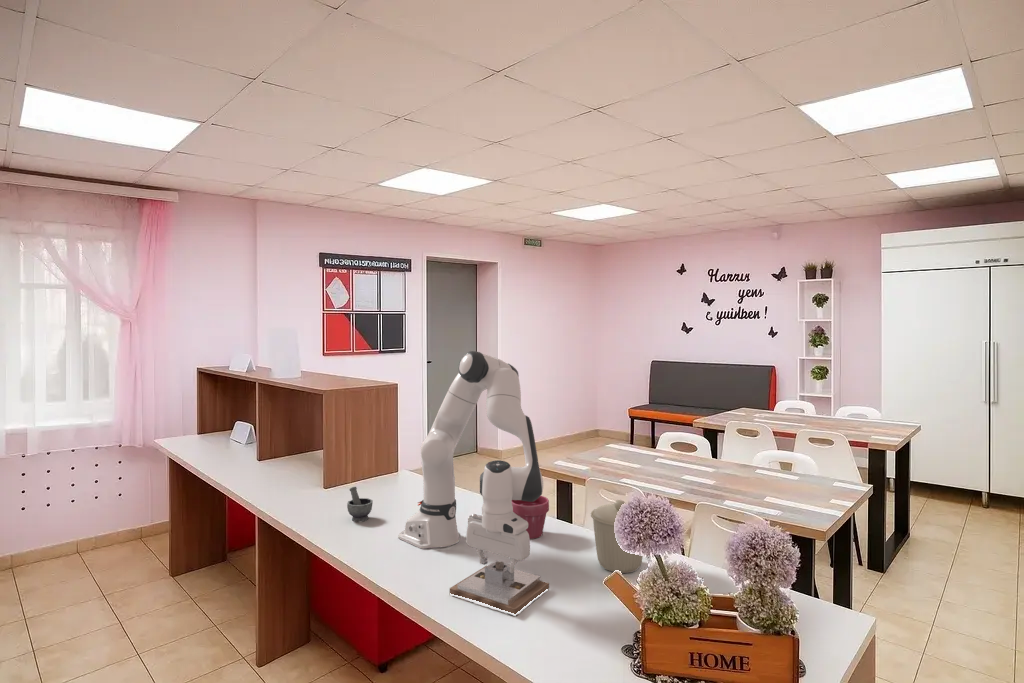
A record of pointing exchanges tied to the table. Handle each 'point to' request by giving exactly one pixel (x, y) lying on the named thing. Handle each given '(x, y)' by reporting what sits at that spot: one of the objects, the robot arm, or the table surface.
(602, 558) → the canister
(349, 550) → the table surface
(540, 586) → the post base
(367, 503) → the mortar and pestle
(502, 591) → the flange plate
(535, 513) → the plant pot
